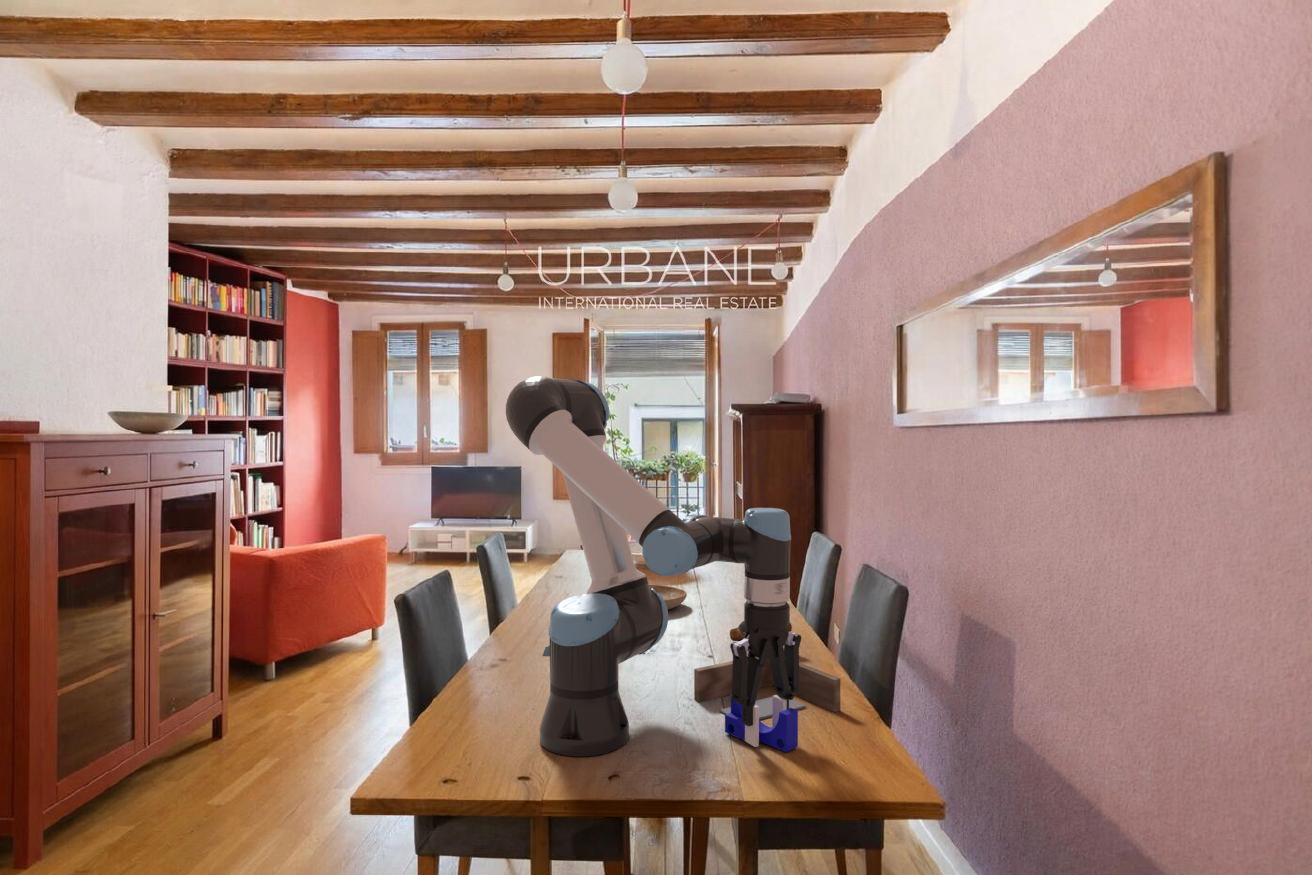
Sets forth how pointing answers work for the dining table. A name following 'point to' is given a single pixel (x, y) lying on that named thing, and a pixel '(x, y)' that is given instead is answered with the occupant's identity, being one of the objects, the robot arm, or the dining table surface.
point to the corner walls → (811, 684)
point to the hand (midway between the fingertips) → (765, 739)
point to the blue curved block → (766, 728)
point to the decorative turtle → (739, 632)
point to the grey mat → (767, 707)
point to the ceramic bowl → (670, 595)
